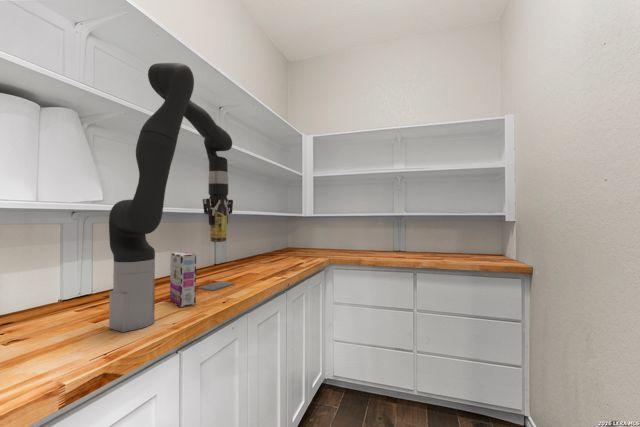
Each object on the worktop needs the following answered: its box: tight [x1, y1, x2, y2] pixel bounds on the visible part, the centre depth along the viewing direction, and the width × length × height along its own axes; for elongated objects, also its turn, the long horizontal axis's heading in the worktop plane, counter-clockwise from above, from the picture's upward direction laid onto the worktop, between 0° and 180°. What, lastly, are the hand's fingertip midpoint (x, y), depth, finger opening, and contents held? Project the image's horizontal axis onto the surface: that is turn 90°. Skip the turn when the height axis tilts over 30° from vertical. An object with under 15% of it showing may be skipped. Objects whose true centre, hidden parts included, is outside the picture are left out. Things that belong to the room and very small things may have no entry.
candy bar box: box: [169, 251, 197, 308], centre depth 95 cm, size 11×5×16 cm, turn 44°
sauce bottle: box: [209, 195, 228, 243], centre depth 115 cm, size 6×6×20 cm
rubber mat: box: [197, 280, 235, 292], centre depth 117 cm, size 12×8×1 cm, turn 155°
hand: (218, 224), depth 115 cm, fingers closed on sauce bottle, 6 cm apart
